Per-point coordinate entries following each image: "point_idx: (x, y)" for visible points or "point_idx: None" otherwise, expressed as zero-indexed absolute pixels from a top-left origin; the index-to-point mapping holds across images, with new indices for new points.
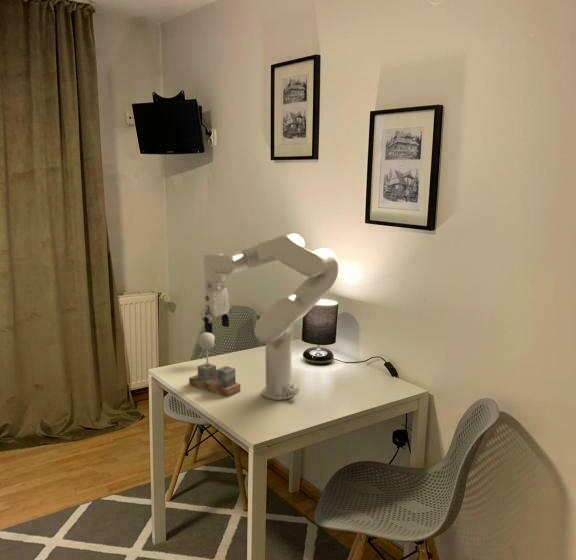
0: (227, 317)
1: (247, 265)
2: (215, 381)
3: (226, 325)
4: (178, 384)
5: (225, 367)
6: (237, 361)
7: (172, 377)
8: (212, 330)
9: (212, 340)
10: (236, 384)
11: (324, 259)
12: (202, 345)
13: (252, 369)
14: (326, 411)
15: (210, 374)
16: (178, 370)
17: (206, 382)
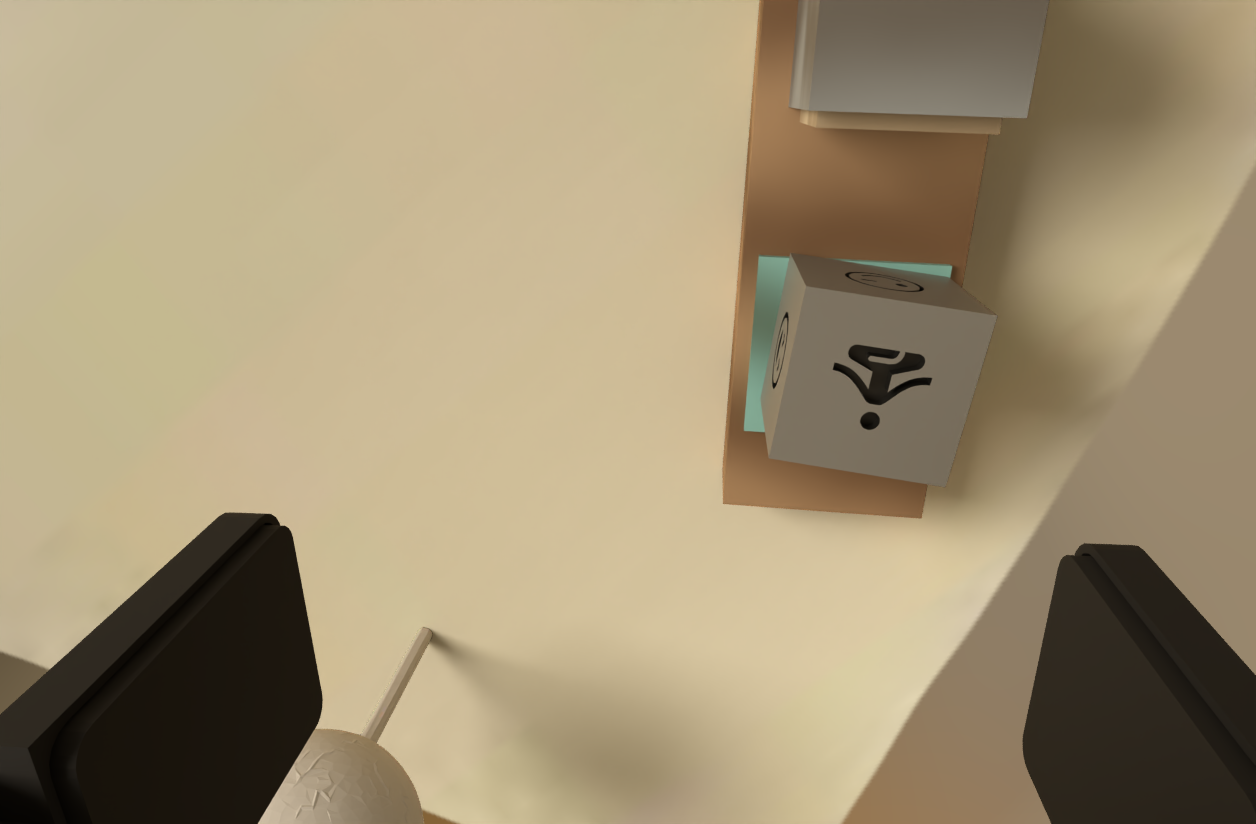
0: (48, 758)
1: None
2: (868, 202)
3: (280, 583)
4: (931, 578)
5: (872, 53)
6: (135, 496)
7: (814, 719)
8: (1100, 582)
9: (291, 784)
10: None
11: None
12: (420, 817)
13: (179, 226)
14: None
15: (896, 280)
16: (650, 775)
17: (947, 272)
